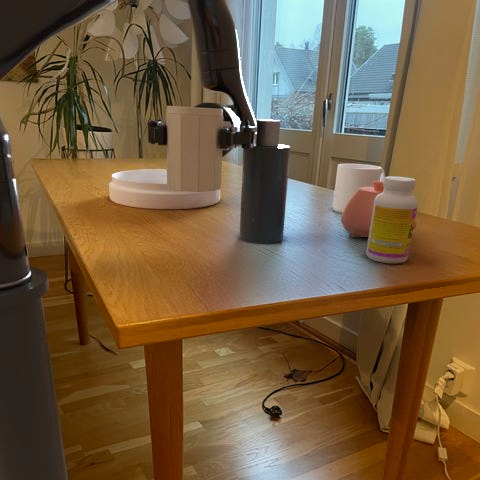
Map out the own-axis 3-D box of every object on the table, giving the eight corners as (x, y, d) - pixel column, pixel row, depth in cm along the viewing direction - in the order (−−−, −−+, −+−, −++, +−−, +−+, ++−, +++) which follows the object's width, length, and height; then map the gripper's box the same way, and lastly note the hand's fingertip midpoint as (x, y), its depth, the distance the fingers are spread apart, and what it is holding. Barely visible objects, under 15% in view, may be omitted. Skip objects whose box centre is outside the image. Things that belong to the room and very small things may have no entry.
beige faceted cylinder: (171, 191, 55) (170, 106, 51) (164, 182, 61) (163, 105, 57) (225, 192, 56) (228, 109, 53) (213, 183, 62) (216, 108, 58)
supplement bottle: (409, 266, 75) (426, 183, 70) (366, 262, 76) (379, 179, 71) (404, 254, 81) (419, 177, 76) (364, 251, 82) (376, 174, 77)
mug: (350, 216, 108) (357, 169, 103) (324, 208, 116) (329, 163, 111) (392, 213, 113) (399, 168, 109) (363, 205, 121) (370, 163, 117)
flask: (246, 244, 83) (251, 120, 75) (234, 232, 90) (239, 118, 82) (289, 243, 85) (299, 122, 77) (274, 231, 92) (283, 119, 84)
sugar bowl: (349, 224, 100) (356, 174, 96) (418, 235, 94) (429, 182, 90) (331, 237, 90) (338, 181, 86) (407, 249, 84) (418, 190, 80)
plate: (86, 201, 111) (84, 177, 109) (146, 186, 134) (146, 165, 132) (190, 214, 103) (190, 188, 100) (235, 195, 126) (236, 174, 123)
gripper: (164, 100, 68) (128, 98, 53) (263, 105, 67) (256, 104, 52) (164, 155, 71) (131, 167, 56) (260, 160, 71) (252, 175, 55)
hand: (191, 137), depth 54 cm, fingers closed on beige faceted cylinder, 6 cm apart
